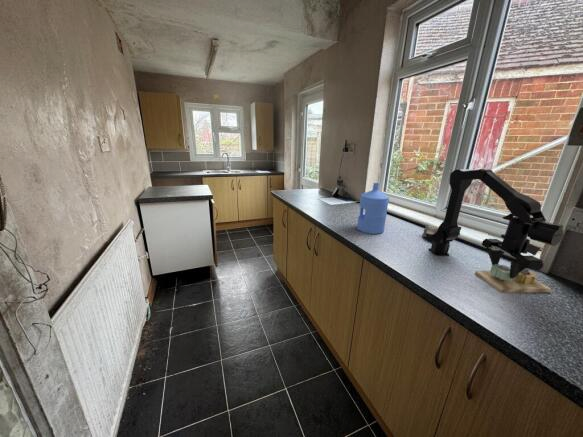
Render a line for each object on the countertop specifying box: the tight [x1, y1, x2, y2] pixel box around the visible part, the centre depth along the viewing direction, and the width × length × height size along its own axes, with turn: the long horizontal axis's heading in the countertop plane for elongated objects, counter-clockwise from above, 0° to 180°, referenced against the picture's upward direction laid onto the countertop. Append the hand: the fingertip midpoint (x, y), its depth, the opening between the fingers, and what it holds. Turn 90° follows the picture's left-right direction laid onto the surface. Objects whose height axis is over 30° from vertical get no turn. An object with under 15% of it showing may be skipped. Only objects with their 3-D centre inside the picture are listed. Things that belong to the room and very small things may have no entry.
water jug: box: [356, 182, 390, 235], centre depth 136 cm, size 16×16×28 cm
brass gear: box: [515, 270, 538, 284], centre depth 88 cm, size 7×7×3 cm
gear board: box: [474, 267, 552, 293], centre depth 88 cm, size 18×12×6 cm, turn 91°
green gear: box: [489, 263, 515, 281], centre depth 88 cm, size 7×7×3 cm
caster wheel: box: [422, 222, 439, 243], centre depth 127 cm, size 7×11×10 cm
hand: (502, 272), depth 88 cm, fingers closed on green gear, 7 cm apart
